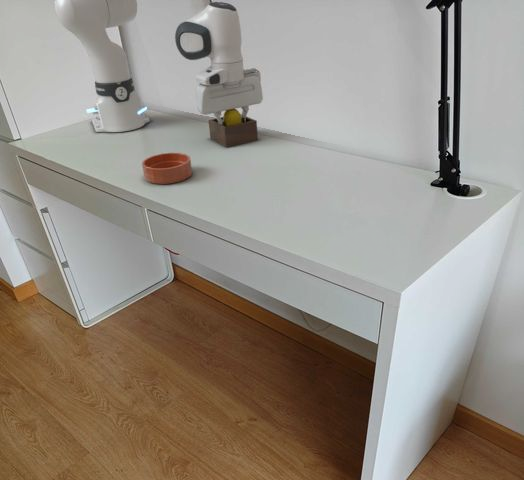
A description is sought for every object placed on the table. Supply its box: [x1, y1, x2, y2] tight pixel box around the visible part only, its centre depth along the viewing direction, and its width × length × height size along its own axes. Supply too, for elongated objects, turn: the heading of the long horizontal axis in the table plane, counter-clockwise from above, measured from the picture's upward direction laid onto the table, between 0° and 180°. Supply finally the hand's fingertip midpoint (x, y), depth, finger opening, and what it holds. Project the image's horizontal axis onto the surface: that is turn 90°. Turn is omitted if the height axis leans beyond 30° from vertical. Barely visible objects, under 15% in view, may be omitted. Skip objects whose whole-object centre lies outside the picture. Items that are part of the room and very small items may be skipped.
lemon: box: [222, 108, 242, 127], centre depth 147 cm, size 6×6×8 cm
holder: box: [208, 113, 259, 148], centre depth 149 cm, size 11×11×6 cm
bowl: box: [141, 152, 193, 185], centre depth 128 cm, size 12×12×4 cm
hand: (232, 124), depth 148 cm, fingers closed on lemon, 5 cm apart
